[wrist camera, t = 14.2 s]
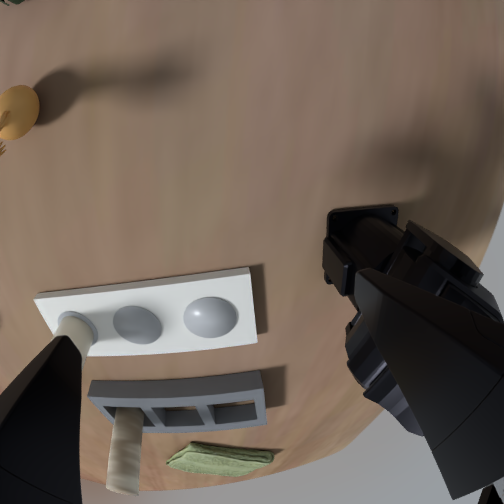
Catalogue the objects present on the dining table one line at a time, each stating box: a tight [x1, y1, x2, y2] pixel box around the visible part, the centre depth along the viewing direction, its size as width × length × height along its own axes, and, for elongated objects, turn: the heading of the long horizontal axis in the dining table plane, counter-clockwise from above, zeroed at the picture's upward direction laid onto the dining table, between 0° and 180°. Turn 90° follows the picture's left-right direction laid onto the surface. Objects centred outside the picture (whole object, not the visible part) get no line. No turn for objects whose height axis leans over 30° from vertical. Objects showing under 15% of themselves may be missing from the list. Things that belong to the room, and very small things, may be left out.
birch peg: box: [106, 407, 144, 496], centre depth 23 cm, size 4×4×13 cm
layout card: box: [34, 267, 257, 369], centre depth 19 cm, size 20×8×8 cm, turn 95°
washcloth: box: [166, 443, 274, 477], centre depth 40 cm, size 13×18×3 cm
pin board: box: [87, 370, 267, 433], centre depth 28 cm, size 20×9×2 cm, turn 95°
